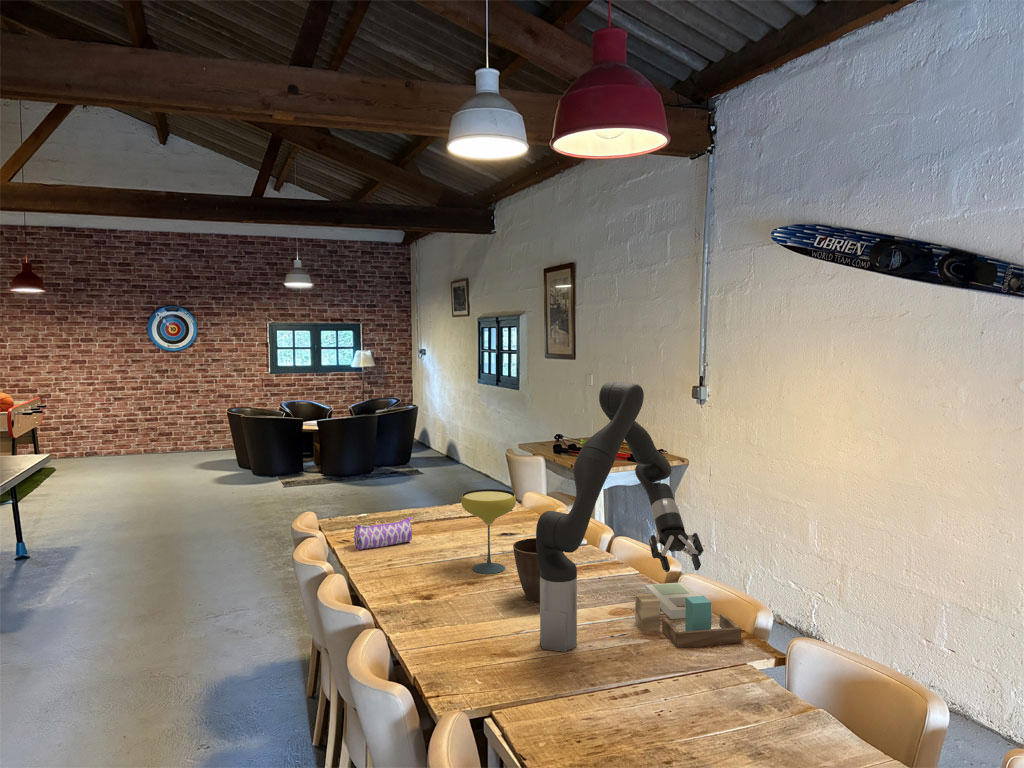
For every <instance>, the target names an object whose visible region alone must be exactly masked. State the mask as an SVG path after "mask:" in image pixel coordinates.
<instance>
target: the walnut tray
mask: <svg viewBox="0 0 1024 768" xmlns="http://www.w3.org/2000/svg"><path fill="white" fill-rule="evenodd" d="M661 620H662V621H661V628H662V629H661V632H662V633H664V635H665V636H666V637H667V638H668V640H670V641H671V643H673V645H674V646H676V648H687V647H700V646H702V647H703V646H713V645H715V646H716V645H726V644H727V645H728V644H737V643H738V644H740V643H742V628H741V627H740V626H739V625H737V624H736V623H735V621H733V620H732V619H731V618H729V617H728V616H727V615H726V614H725V613H719V628H711V629H709V630H696V631H685V630H684V631H680V630H678V628H677V627H676V626H675V625H674V624H673V623H672V622H671V621H670V620H669V619H668V618H667V617H662V619H661Z"/></svg>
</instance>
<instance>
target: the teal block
mask: <svg viewBox="0 0 1024 768" xmlns="http://www.w3.org/2000/svg"><path fill="white" fill-rule="evenodd" d="M685 607H686V610H685V618H684V620H685V621H684V622H685V624H684V626H685V627H684V631H696V630H709V629H712V616H711V607H712V601H711V600H709V599H708V598H707V597H706V596H705V595H699V596H694V597H686V606H685Z"/></svg>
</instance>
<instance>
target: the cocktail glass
mask: <svg viewBox="0 0 1024 768" xmlns="http://www.w3.org/2000/svg"><path fill="white" fill-rule="evenodd" d="M516 499H517V497H516V493H514V492H513V491H510V490H505V489H497V488H487V489H486V488H485V489H483V488H482V489H475V490H474V489H473V490H469V491H466V492H464V493H462V495H461V500H460V503H461V507H462V508H463V509H464V510H465V511H466V512H467V513H469V514H470V515H473V516H475V517H476V518H479V519H481V520H482V521H483V523H484V524H485V525H487V559H486V562H482V563H478V564H475V565H473V567H472V570H473V572H475V573H478V574H483V575H492V574H499V573H502V572H504V571H505V570H506V566H505V565H503V564H501V563H498V562H497V563H496V562H492V561H491V559H492V558H491V536H490V535H491V534H490V533H491V532H490V530H491V529H490V528H491V527H490V526H491V525H492V524H493V523H494V522H495V521H496V519H498V518H500V517H502V516H504V515H506V514H508V513H509V512H511V511H512V510H513V509H514V508H515V506H516V505H517V504H516V501H517V500H516Z"/></svg>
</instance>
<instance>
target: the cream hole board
mask: <svg viewBox="0 0 1024 768" xmlns="http://www.w3.org/2000/svg"><path fill="white" fill-rule="evenodd" d="M644 588H645V589H644V594H654V595H655V596H656V597H657V598H658V599H659V600H660V611H662V612H663V613H664V614H665V615H667V617H668V618H669V619H670V620H676V619H677V620H678V619H685V610H686V597H694V596H700V595H699V594H697V593H696V592H695V591H694V590H692V589H691V587H690V586H688V585H687V584H686V583H685V582H668V583H654V584H652V583H651V584H645V586H644ZM683 606H684V607H683ZM711 617H713V606H711Z"/></svg>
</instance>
